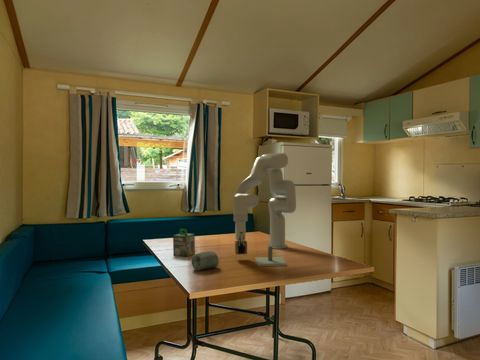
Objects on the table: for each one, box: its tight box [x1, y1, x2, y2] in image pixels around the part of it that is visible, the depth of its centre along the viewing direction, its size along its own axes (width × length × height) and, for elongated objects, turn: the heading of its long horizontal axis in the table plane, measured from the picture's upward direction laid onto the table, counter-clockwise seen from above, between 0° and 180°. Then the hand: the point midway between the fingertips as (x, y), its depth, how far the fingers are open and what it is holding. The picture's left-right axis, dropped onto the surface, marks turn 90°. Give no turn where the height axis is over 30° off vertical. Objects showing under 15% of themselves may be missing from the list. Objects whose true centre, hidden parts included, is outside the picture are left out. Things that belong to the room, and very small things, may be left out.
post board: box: [254, 245, 287, 267], centre depth 176 cm, size 14×14×8 cm
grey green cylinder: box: [190, 250, 219, 272], centre depth 163 cm, size 14×10×10 cm
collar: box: [234, 240, 248, 255], centre depth 181 cm, size 6×6×6 cm
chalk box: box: [172, 228, 196, 258], centre depth 195 cm, size 9×9×15 cm
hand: (241, 251), depth 181 cm, fingers closed on collar, 6 cm apart
